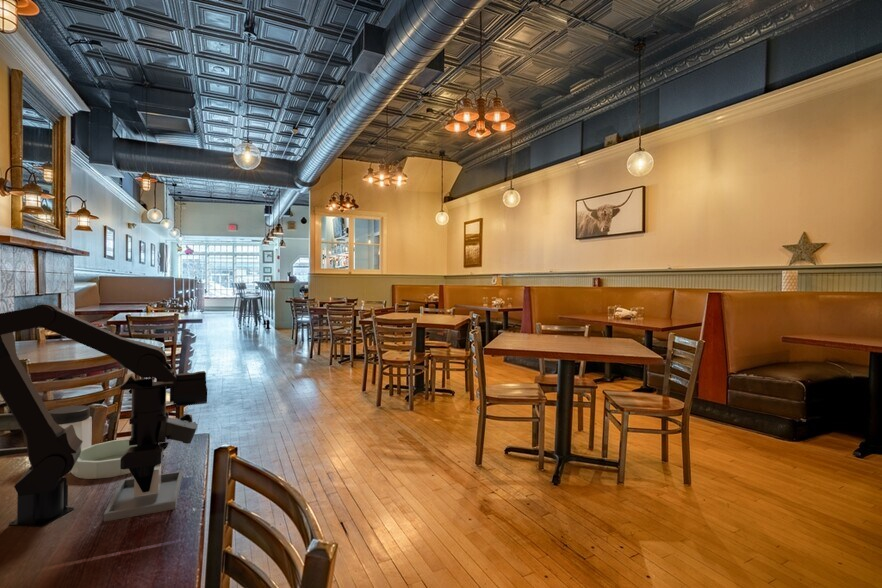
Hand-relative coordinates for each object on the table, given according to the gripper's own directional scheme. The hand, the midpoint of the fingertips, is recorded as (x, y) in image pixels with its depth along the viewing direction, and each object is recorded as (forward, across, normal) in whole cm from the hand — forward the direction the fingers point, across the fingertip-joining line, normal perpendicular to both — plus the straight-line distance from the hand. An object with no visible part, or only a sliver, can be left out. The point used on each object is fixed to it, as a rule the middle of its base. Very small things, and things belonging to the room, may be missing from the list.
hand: (147, 487), depth 87 cm
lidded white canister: (+2, +34, +21) cm, 40 cm away
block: (+1, 0, 0) cm, 1 cm away
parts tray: (+2, 0, 0) cm, 2 cm away
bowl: (+2, +22, +9) cm, 24 cm away
